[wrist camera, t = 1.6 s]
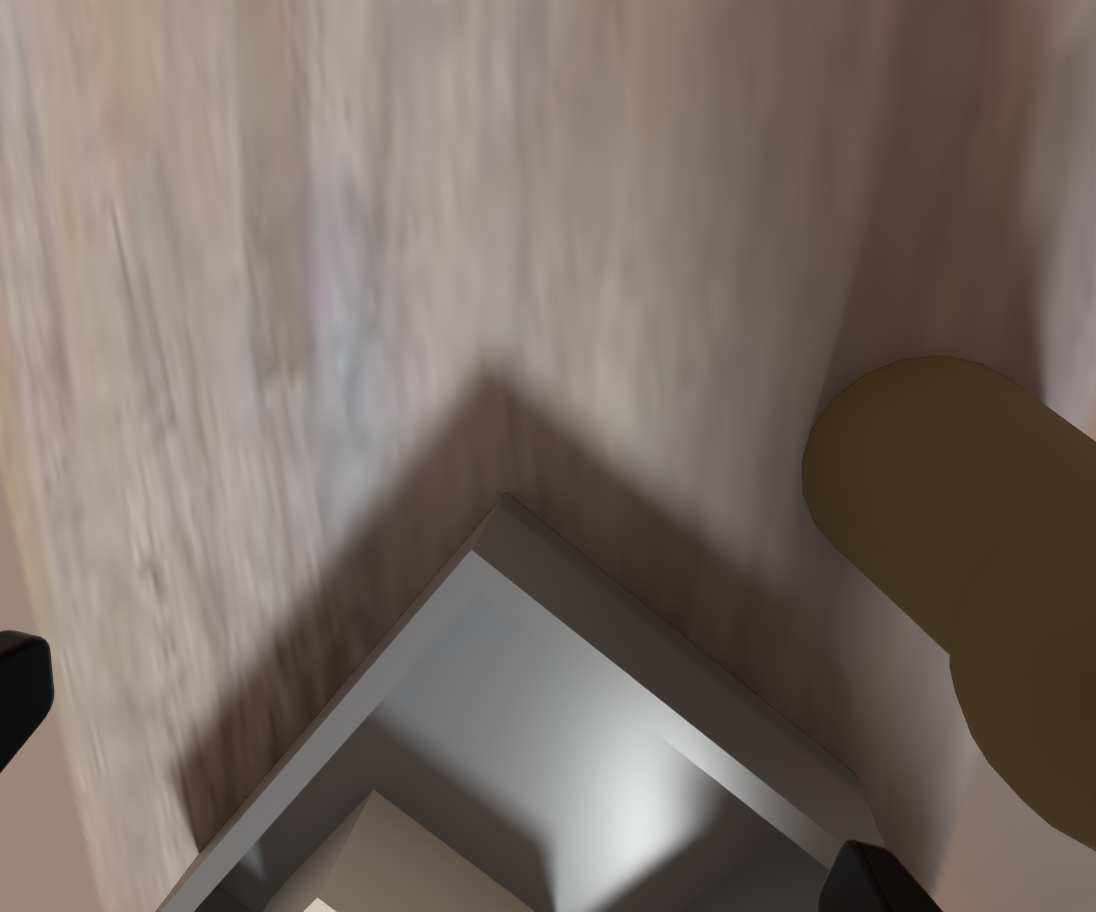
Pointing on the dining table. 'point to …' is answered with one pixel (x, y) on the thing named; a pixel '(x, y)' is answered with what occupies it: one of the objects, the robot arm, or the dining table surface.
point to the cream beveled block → (389, 871)
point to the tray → (551, 752)
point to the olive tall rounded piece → (979, 556)
